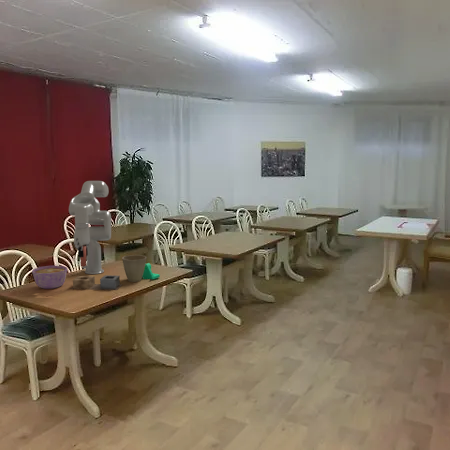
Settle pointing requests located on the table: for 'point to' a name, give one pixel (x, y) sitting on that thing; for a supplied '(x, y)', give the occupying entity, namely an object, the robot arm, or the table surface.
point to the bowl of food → (50, 276)
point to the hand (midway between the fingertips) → (83, 255)
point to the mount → (84, 282)
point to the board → (97, 287)
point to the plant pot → (134, 267)
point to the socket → (109, 282)
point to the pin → (83, 259)
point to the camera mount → (149, 272)
